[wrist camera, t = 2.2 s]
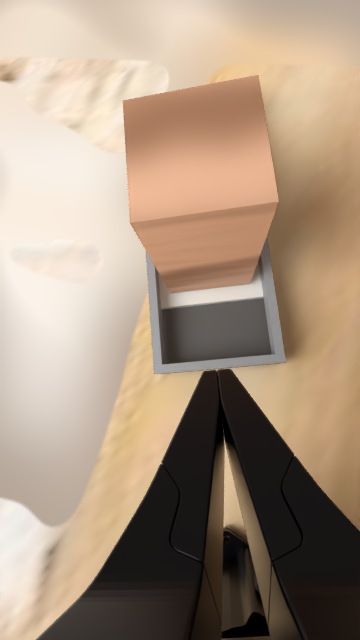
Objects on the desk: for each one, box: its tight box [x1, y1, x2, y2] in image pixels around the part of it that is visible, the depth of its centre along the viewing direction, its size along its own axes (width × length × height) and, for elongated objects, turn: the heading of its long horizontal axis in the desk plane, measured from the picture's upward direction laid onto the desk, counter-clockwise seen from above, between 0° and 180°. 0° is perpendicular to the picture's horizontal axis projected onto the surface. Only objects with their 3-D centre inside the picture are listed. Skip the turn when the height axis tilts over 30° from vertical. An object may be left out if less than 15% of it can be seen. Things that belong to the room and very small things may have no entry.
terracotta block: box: [123, 75, 279, 293], centre depth 18 cm, size 6×6×11 cm
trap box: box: [146, 237, 286, 374], centre depth 24 cm, size 22×9×2 cm, turn 5°
